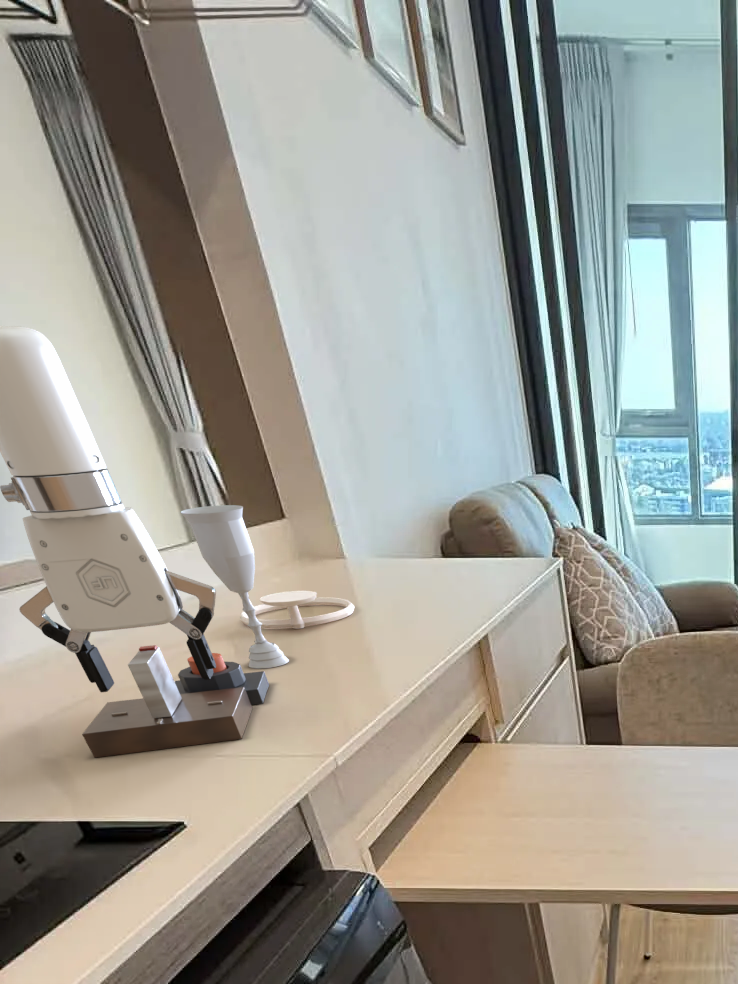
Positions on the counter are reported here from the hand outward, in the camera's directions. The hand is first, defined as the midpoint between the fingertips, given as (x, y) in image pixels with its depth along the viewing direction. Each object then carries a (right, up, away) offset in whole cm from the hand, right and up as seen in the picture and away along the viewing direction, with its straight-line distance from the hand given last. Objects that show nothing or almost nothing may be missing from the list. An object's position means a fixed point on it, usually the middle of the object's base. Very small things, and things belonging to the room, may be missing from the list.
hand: (158, 682), depth 90 cm
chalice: (-3, +12, +24) cm, 27 cm away
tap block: (0, -4, +3) cm, 5 cm away
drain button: (-1, +5, +10) cm, 12 cm away
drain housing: (-1, +3, +12) cm, 13 cm away
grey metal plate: (0, -2, +2) cm, 3 cm away
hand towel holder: (-9, +28, +44) cm, 53 cm away
